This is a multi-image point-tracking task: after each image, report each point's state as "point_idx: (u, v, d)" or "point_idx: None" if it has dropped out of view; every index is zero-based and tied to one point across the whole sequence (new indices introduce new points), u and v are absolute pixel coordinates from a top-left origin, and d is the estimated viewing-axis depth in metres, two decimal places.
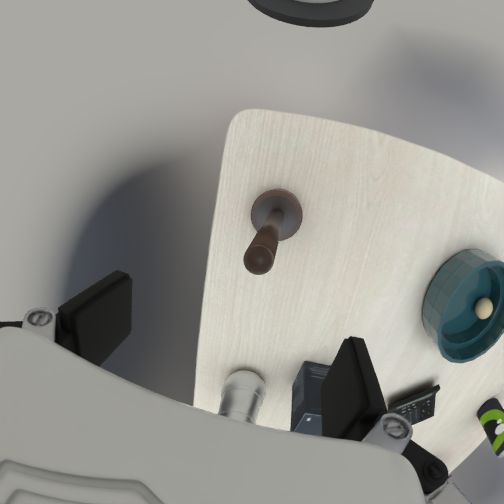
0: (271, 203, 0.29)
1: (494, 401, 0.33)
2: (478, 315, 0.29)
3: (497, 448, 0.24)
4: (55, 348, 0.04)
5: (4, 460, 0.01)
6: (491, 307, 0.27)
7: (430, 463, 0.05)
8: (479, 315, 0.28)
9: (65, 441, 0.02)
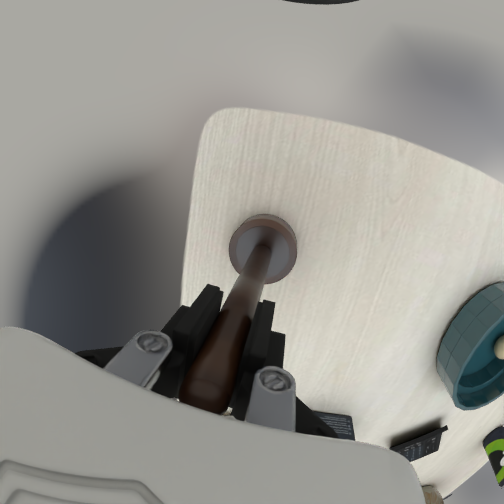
0: (255, 236, 0.22)
1: (501, 430, 0.27)
2: (497, 355, 0.21)
3: (500, 479, 0.17)
4: (55, 348, 0.04)
5: (4, 460, 0.01)
6: None
7: (318, 429, 0.06)
8: (498, 356, 0.21)
9: (65, 441, 0.02)
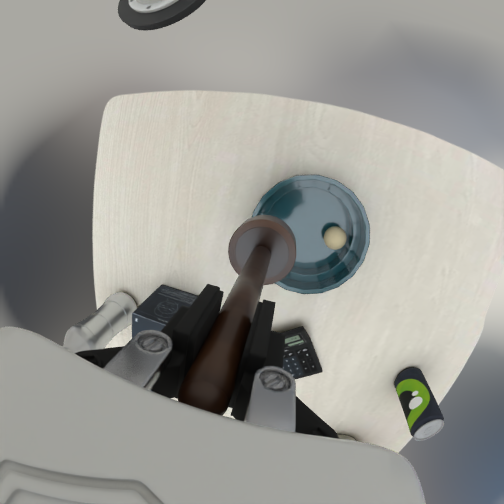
0: (254, 237, 0.22)
1: (413, 370, 0.42)
2: (326, 244, 0.37)
3: (410, 426, 0.32)
4: (55, 348, 0.04)
5: (4, 460, 0.01)
6: (340, 235, 0.35)
7: (318, 430, 0.06)
8: (326, 244, 0.36)
9: (65, 441, 0.02)
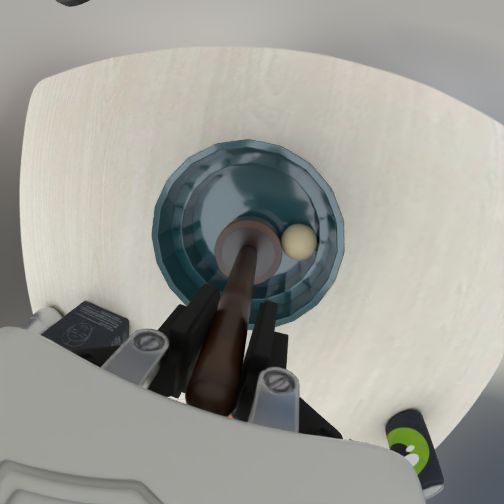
0: (243, 237, 0.22)
1: (411, 414, 0.29)
2: (287, 253, 0.23)
3: None
4: (55, 348, 0.04)
5: (4, 460, 0.01)
6: (310, 236, 0.23)
7: (322, 430, 0.06)
8: (288, 254, 0.23)
9: (65, 441, 0.02)
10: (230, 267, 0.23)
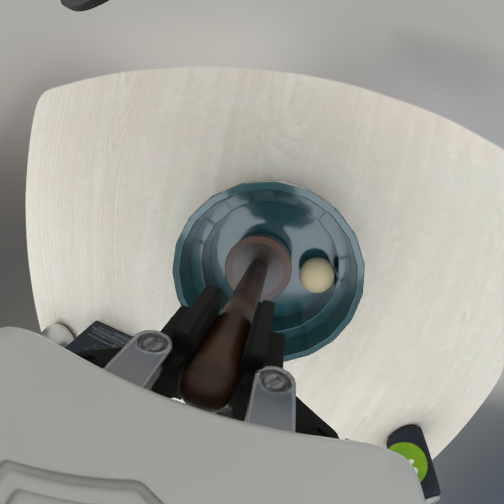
0: (261, 252, 0.23)
1: (411, 430, 0.29)
2: (304, 285, 0.24)
3: None
4: (55, 348, 0.04)
5: (4, 460, 0.01)
6: (328, 270, 0.23)
7: (318, 430, 0.06)
8: (305, 286, 0.23)
9: (65, 441, 0.02)
10: (235, 274, 0.23)
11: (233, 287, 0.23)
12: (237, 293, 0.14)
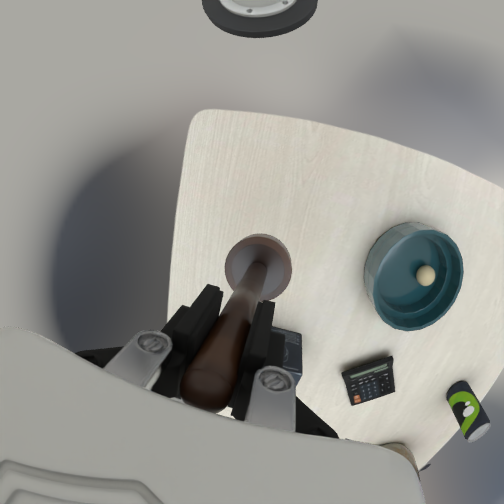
0: (261, 253, 0.23)
1: (463, 383, 0.41)
2: None
3: (465, 431, 0.31)
4: (55, 348, 0.04)
5: (4, 460, 0.01)
6: (428, 271, 0.34)
7: (318, 429, 0.06)
8: None
9: (65, 441, 0.02)
10: (235, 274, 0.23)
11: (233, 288, 0.23)
12: (237, 294, 0.14)
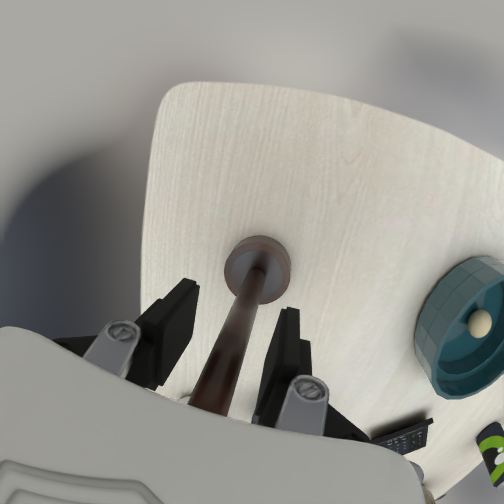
0: (259, 259, 0.23)
1: (496, 426, 0.26)
2: None
3: (495, 479, 0.17)
4: (55, 348, 0.04)
5: (4, 460, 0.01)
6: (477, 313, 0.21)
7: (352, 435, 0.06)
8: None
9: (65, 441, 0.02)
10: (235, 279, 0.23)
11: (233, 291, 0.24)
12: (231, 320, 0.15)
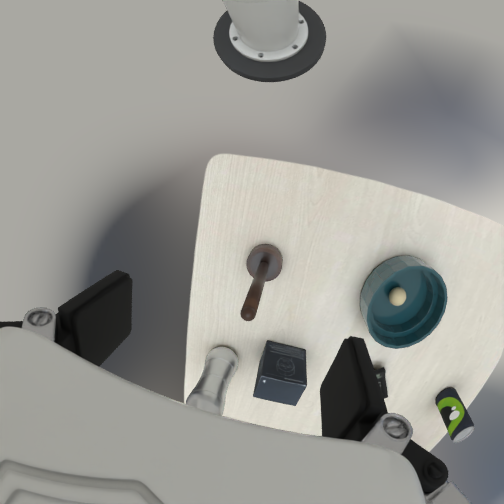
0: (265, 256, 0.43)
1: (450, 390, 0.47)
2: None
3: (451, 432, 0.37)
4: (55, 348, 0.04)
5: (4, 460, 0.01)
6: (396, 288, 0.43)
7: (430, 463, 0.05)
8: None
9: (65, 441, 0.02)
10: (252, 267, 0.44)
11: (251, 274, 0.44)
12: (255, 281, 0.35)
